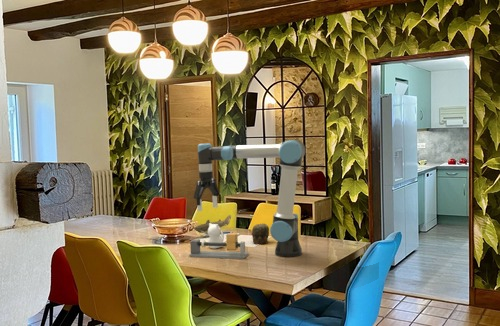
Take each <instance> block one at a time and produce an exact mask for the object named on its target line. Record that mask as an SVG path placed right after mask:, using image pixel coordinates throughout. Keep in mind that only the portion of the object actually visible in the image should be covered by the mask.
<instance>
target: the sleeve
mask: <svg viewBox="0 0 500 326" xmlns="http://www.w3.org/2000/svg"><path fill="white" fill-rule="evenodd" d="M238 235H239V234H238V233H236V232H228V233H227V234H226V243H227V246H226V251H237V250H238V249H239V247H236V243H239V242H238V241H239V240H238Z"/></svg>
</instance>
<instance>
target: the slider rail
mask: <svg viewBox="0 0 500 326" xmlns="http://www.w3.org/2000/svg"><path fill="white" fill-rule="evenodd" d="M189 246H190V254H189V255H188V257H189V258H207V259H208V258H212V259H213V258H214V259H232V260H233V259H237V260H244V259H246V257H248V256H249V252H246V241H240V242H238V243H236V247H238V248H239V249H240V250H239V251H221V250H220V251H219V250H218V251H215V250H201V247H202V248H206V247H209V246H222V247H227V242H223V243H216V242H208V241H206V240H205V239H204V240H201V239H196V238H193V239H192V240H190V245H189Z"/></svg>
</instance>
